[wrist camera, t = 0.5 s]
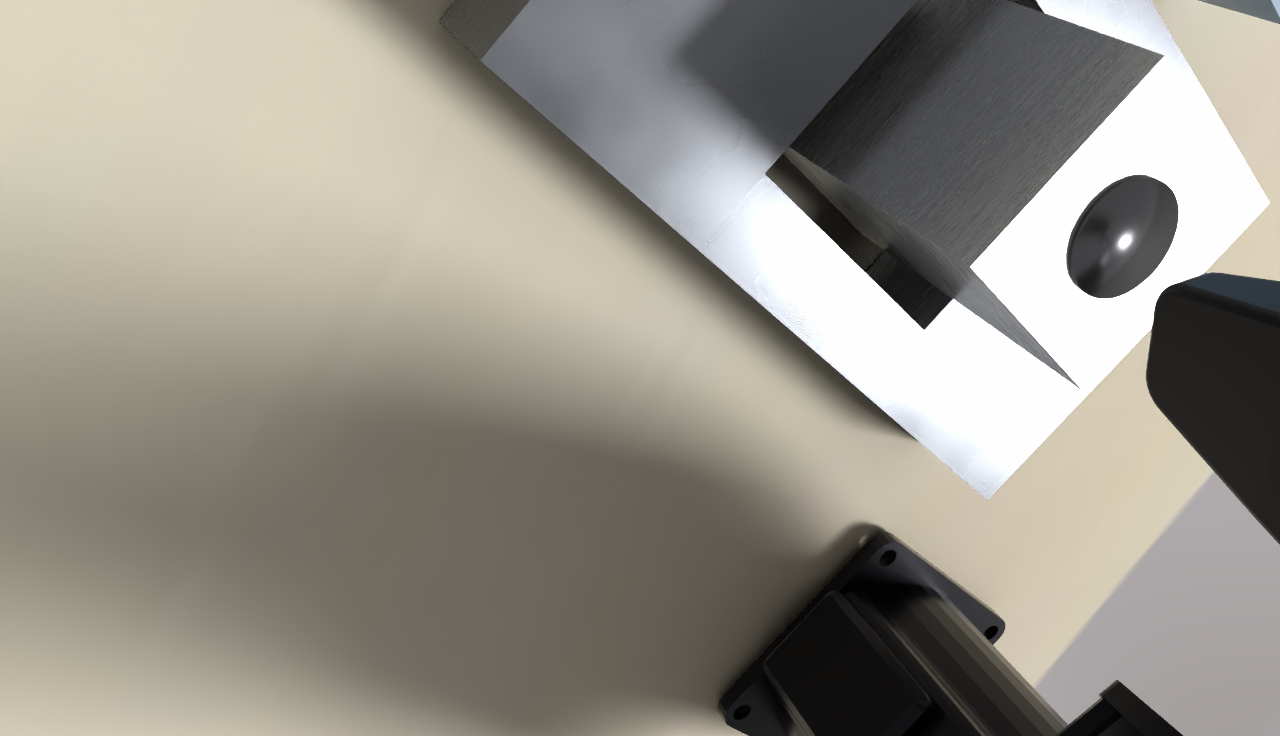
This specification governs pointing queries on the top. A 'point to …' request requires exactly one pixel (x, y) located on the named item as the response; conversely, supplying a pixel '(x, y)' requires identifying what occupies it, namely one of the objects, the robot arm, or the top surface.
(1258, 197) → the gray square hole plate
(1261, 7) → the parts tray
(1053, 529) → the top surface
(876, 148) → the small speaker box
